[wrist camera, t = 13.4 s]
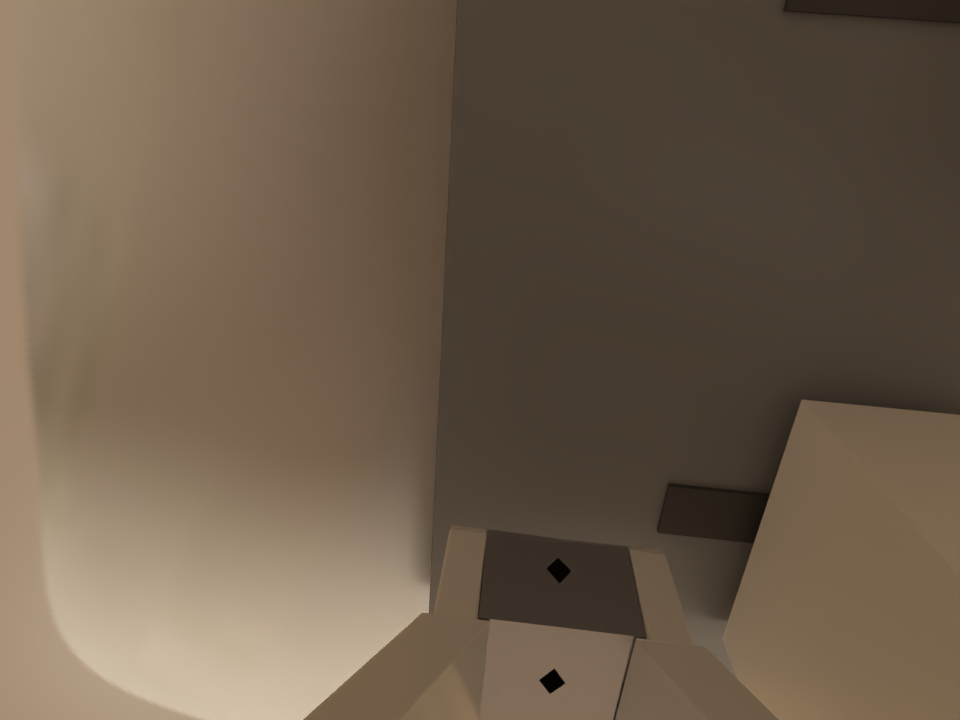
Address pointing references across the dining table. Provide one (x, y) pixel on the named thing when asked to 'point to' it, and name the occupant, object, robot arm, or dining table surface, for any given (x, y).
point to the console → (687, 261)
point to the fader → (856, 570)
